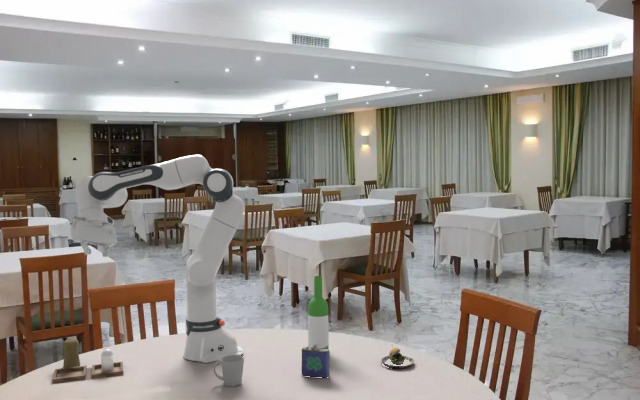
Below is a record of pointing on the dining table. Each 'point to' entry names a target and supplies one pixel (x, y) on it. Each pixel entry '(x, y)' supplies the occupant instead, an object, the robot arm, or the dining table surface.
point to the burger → (396, 358)
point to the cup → (231, 369)
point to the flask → (315, 362)
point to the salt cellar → (107, 361)
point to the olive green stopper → (71, 353)
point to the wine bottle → (318, 318)
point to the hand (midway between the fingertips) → (97, 255)
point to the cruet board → (85, 373)
